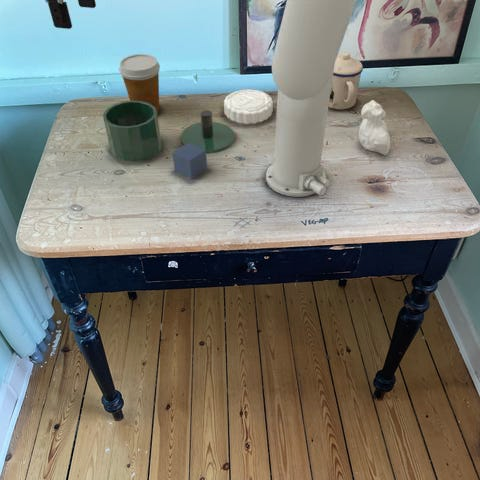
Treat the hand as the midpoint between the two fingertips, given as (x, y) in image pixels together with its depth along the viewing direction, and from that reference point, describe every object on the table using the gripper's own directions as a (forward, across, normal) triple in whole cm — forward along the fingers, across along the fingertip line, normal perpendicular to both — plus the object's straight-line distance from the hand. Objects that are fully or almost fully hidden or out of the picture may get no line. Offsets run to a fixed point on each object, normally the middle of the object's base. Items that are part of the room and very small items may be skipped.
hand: (76, 16), depth 88 cm
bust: (+28, +18, -57) cm, 66 cm away
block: (+28, -1, -20) cm, 35 cm away
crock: (+28, +4, -5) cm, 29 cm away
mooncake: (+28, +26, -26) cm, 46 cm away
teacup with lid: (+28, +35, -48) cm, 66 cm away
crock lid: (+28, +12, -20) cm, 36 cm away
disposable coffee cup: (+29, +21, -1) cm, 35 cm away
